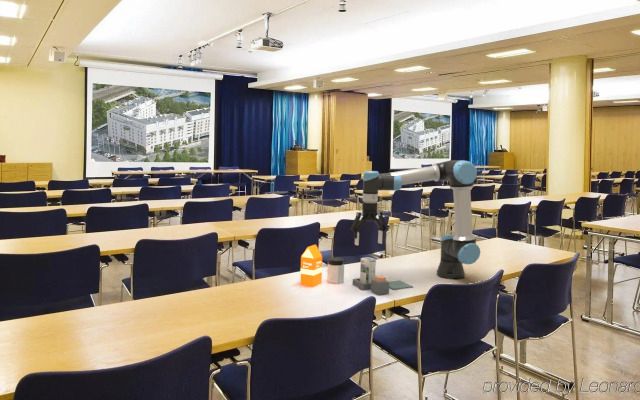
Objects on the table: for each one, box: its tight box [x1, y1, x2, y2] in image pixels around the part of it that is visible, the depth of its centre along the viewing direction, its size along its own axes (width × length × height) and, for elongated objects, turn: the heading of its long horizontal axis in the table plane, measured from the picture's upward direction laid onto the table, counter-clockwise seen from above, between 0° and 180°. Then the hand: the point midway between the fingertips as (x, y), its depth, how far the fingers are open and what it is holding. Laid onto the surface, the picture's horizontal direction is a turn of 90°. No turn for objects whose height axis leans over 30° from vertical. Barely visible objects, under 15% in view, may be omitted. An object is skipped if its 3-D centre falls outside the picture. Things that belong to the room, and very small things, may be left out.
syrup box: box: [359, 256, 377, 284], centre depth 244 cm, size 6×6×14 cm
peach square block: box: [375, 275, 387, 282], centre depth 234 cm, size 4×4×4 cm
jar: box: [326, 256, 345, 284], centre depth 252 cm, size 9×8×12 cm
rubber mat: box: [389, 279, 414, 291], centre depth 248 cm, size 12×12×1 cm
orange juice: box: [300, 244, 323, 288], centre depth 246 cm, size 8×9×20 cm
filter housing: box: [352, 277, 390, 296], centre depth 240 cm, size 11×21×6 cm, turn 25°
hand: (368, 244), depth 243 cm, fingers open, 13 cm apart
